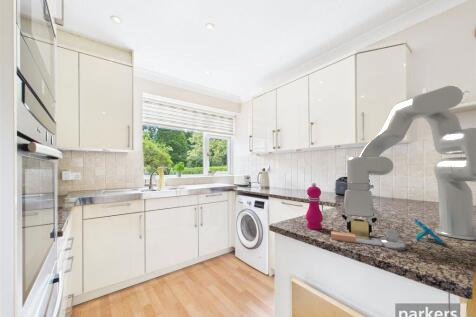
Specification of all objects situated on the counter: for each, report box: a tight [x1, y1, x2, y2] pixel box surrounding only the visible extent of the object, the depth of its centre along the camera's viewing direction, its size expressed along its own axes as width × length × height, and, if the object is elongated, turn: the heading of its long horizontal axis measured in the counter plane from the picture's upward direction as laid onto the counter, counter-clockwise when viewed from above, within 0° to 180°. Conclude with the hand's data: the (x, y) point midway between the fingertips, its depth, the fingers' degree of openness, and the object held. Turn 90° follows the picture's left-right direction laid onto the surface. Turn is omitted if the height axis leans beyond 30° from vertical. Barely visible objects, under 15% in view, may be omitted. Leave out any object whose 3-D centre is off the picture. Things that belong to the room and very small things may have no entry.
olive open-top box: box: [350, 217, 370, 238], centre depth 80 cm, size 6×6×6 cm
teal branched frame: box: [414, 219, 444, 244], centre depth 75 cm, size 11×6×10 cm
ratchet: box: [330, 228, 406, 251], centre depth 72 cm, size 22×7×6 cm, turn 65°
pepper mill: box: [305, 182, 324, 231], centre depth 90 cm, size 7×7×20 cm
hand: (359, 232), depth 80 cm, fingers closed on olive open-top box, 5 cm apart
